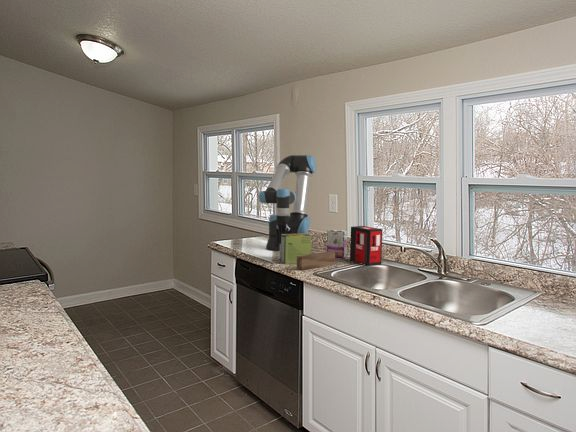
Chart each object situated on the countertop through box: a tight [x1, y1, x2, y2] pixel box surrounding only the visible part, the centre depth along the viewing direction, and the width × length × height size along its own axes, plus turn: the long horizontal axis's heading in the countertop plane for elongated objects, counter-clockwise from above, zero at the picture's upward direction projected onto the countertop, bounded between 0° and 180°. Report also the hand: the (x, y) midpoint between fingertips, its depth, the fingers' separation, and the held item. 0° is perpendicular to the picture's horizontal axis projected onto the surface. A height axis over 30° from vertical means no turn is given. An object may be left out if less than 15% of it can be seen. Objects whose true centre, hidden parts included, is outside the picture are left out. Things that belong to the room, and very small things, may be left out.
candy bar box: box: [326, 229, 348, 259], centre depth 262 cm, size 11×5×16 cm, turn 62°
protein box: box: [279, 233, 312, 265], centre depth 245 cm, size 10×15×16 cm
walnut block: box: [296, 251, 336, 271], centre depth 232 cm, size 4×24×7 cm, turn 129°
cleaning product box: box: [349, 225, 383, 267], centre depth 245 cm, size 16×9×20 cm, turn 31°
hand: (282, 254), depth 255 cm, fingers closed
